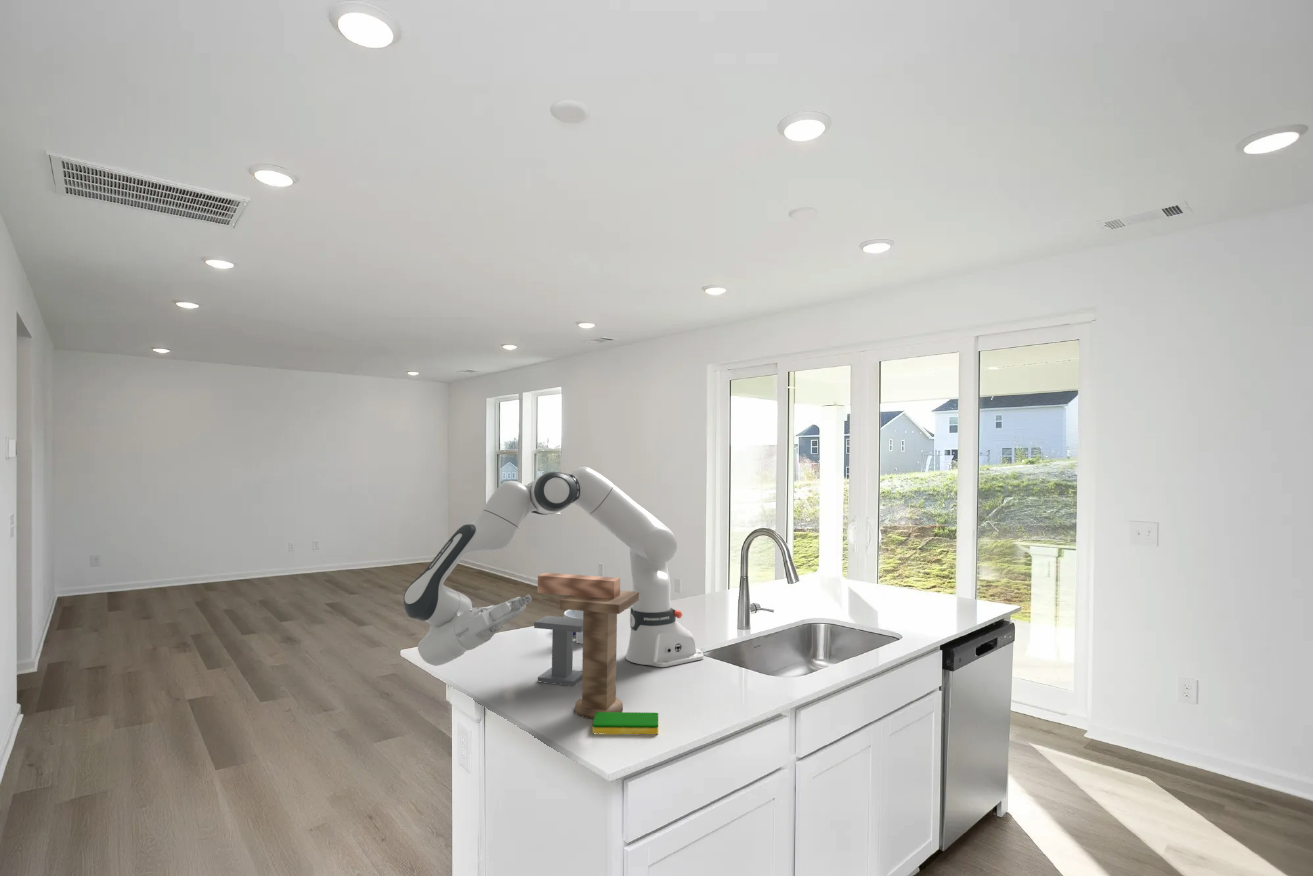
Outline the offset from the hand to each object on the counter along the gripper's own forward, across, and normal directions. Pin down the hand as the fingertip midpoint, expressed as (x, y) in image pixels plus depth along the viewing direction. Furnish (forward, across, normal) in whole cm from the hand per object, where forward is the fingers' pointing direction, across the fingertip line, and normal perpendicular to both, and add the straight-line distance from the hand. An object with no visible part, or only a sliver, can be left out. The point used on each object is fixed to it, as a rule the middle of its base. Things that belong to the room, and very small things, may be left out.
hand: (520, 601), depth 161 cm
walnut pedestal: (+6, 0, +30) cm, 31 cm away
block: (+14, 0, +5) cm, 15 cm away
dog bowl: (-19, +62, +16) cm, 67 cm away
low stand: (-8, +16, +22) cm, 28 cm away
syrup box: (-14, +49, +19) cm, 55 cm away
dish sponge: (+14, -8, +35) cm, 39 cm away
